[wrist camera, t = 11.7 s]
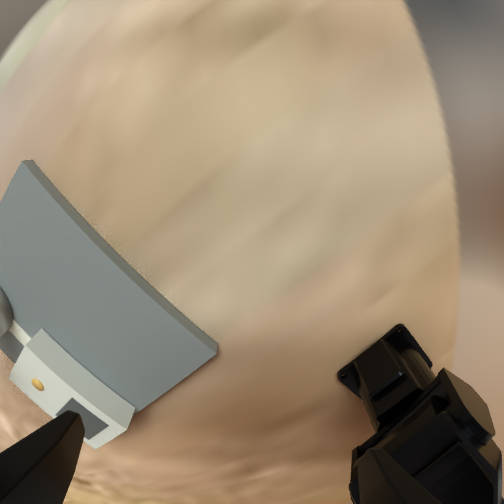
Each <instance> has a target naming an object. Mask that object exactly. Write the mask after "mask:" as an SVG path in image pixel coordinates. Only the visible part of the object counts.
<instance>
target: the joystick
mask: <svg viewBox="0 0 504 504" xmlns="http://www.w3.org/2000/svg"><path fill="white" fill-rule="evenodd" d="M12 322H13V315H12V310H11V306H10V304H9V301H8V299H7V297H6V295H5V294H4V292H3V291H2V289H1V288H0V337H1V336H2V335H3V334H4V333H5V332H6V331H7V330H8V329H10V327H11V326H12Z"/></svg>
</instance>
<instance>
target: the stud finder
mask: <svg viewBox="0 0 504 504" xmlns="http://www.w3.org/2000/svg"><path fill="white" fill-rule="evenodd" d="M8 378H9V379H10V380H11V381H12V382H13V383H14V384H15V385H16V386H17V387H18V388H19V389H20V390H21V391H23V392H24V393H25V394H26V395H27V396H28V397H29V398H30V399H31V400H32V401H34V402H35V403H36V404H37V405H38V406H39V407H40V408H42V409H43V410H44V411H45V412H46V413H48V414H49V415H50V416H51V417H52V418H56V417H57V416H59V415H60V414H62V413H63V412H65V411H67V410H71V411H74V412H77V413H79V414H80V415H81V418H82V421H83V424H84V428H85V436H84V439H83V441H84V442H86V443H87V444H88V445H90V446H91V447H93V448H94V449H97V448H99V447H101V446H102V445H104V444H105V443H107V442H109V441H110V440H112V439H113V438H115V437H117V436H118V435H120V434H121V433H123V432H124V431H126V430H127V429H128V426H129V423H130V421H131V418H132V416H133V413H134V410H135V407H134V406H132V405H131V404H130V403H128V402H127V401H126V400H124V399H123V398H121V397H120V396H119V395H118V394H116V393H115V392H114V391H112V390H111V389H110V388H108V387H107V386H106V385H105V384H103V383H102V382H101V381H100V380H98V379H97V378H96V377H95V376H94V375H92V374H91V373H90V372H89V371H88V370H86V369H85V368H84V367H83V366H82V365H81V364H80V363H78V362H77V361H76V360H75V359H74V358H73V357H72V356H71V355H69V354H68V353H67V352H66V351H65V350H64V349H63V348H62V347H61V346H60V345H59V344H58V343H57V342H55V341H54V340H53V339H52V338H51V337H50V336H49V335H48V334H47V333H46V332H45V331H44V330H43V329H42V328H41V329H40V330H39V331H38V332H37V333H36V334H35V336H34V337H33V338H32V339H31V340H30V341H29V342H28V343H27V344H26V345H25V346H24V348H23V350H22V352H21V354H20V356H19V358H18V359H17V361H16V363H15V365H14V367H13V369H12V371H11V373H10V375H9V377H8Z"/></svg>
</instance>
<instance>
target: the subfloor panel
mask: <svg viewBox="0 0 504 504" xmlns="http://www.w3.org/2000/svg"><path fill="white" fill-rule="evenodd" d="M0 288H1V289H2V291H3V292H4V294H5V295H6V297H7V299H8V301H9V304H10V306H11V310H12V315H13V322H12V326H11V327H10V329H8V330H7V331H6V332H5V333H4V334H3V335H2V336H1V337H0V349H1V350H2V351H3V352H4V353H5V354H6V355H7V356H8V357H9V358H10V359H11V360H12V361H13V362H14V363H16V361H17V359H18V358H19V356H20V354H21V352H22V350H23V348H24V346H25V345H26V344H27V343H28V342H29V341H30V340H31V339H32V338H33V337H34V336H35V334H36V333H37V332H38V331H39V330H40V329H41V328H42V329H43V330H44V331H45V332H46V333H47V334H48V335H49V336H50V337H51V338H52V339H53V340H54V341H55V342H57V343H58V344H59V345H60V346H61V347H62V348H63V349H64V350H65V351H66V352H67V353H68V354H69V355H71V356H72V357H73V358H74V359H75V360H76V361H77V362H78V363H80V364H81V365H82V366H83V367H84V368H85V369H86V370H88V371H89V372H90V373H91V374H92V375H94V376H95V377H96V378H97V379H98V380H100V381H101V382H102V383H103V384H105V385H106V386H107V387H108V388H110V389H111V390H112V391H114V392H115V393H116V394H118V395H119V396H120V397H121V398H123V399H124V400H126V401H127V402H128V403H130V404H131V405H132V406H134V407H135V410H134V413H133V415H135V414H136V413H137V412H139V411H140V410H142V409H143V408H145V407H146V406H147V405H149V404H150V403H152V402H153V401H154V400H156V399H157V398H158V397H160V396H161V395H163V394H164V393H165V392H167V391H168V390H169V389H171V388H172V387H174V386H175V385H176V384H178V383H179V382H180V381H182V380H183V379H184V378H186V377H187V376H188V375H190V374H191V373H192V372H194V371H195V370H196V369H198V368H199V367H200V366H201V365H203V364H204V363H205V362H207V361H208V360H209V359H211V358H212V357H213V356H214V355H216V354H217V348H218V343H216V342H215V341H214V340H213V339H212V338H210V337H209V336H208V335H207V334H206V333H204V332H203V331H202V330H201V329H200V328H198V327H197V326H196V325H195V324H194V323H193V322H191V321H190V320H189V319H188V318H187V317H186V316H185V315H183V314H182V313H181V312H180V311H179V310H178V309H177V308H175V307H174V306H173V305H172V304H171V303H170V302H169V301H168V300H166V299H165V298H164V297H163V296H162V295H161V294H160V293H159V292H158V291H157V290H156V289H154V288H153V287H152V286H151V285H150V284H149V283H148V282H147V281H146V280H145V279H144V278H143V277H142V276H141V275H139V274H138V273H137V272H136V271H135V270H134V269H133V268H132V267H131V266H130V265H129V264H128V263H127V262H126V261H125V260H124V259H123V258H122V257H121V256H120V255H119V254H118V253H117V252H116V251H115V250H114V249H113V248H112V247H111V246H110V245H109V244H108V243H107V242H106V241H105V240H104V239H103V238H102V237H101V236H100V235H99V234H98V233H97V232H96V231H95V230H94V229H93V228H92V227H91V226H90V225H89V224H88V222H87V221H86V220H85V219H84V218H83V217H82V216H81V215H80V214H79V213H78V212H77V211H76V210H75V209H74V207H73V206H72V205H71V204H70V203H69V202H68V201H67V200H66V199H65V197H64V196H63V195H62V194H61V193H60V192H59V191H58V190H57V188H56V187H55V186H54V185H53V184H52V183H51V182H50V180H49V179H48V178H47V177H46V176H45V175H44V173H43V172H42V171H41V170H40V169H39V167H38V166H37V165H36V164H35V163H34V161H33V160H25V161H22V162H21V164H20V166H19V167H18V169H17V171H16V173H15V175H14V177H13V178H12V180H11V182H10V184H9V186H8V188H7V190H6V192H5V194H4V196H3V198H2V200H1V202H0Z"/></svg>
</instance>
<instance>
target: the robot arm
mask: <svg viewBox="0 0 504 504" xmlns="http://www.w3.org/2000/svg"><path fill="white" fill-rule="evenodd" d="M401 329H402V330H401ZM399 330H401V331H400V332H398V331H399ZM432 365H433V364H432V362H431V361H430V359H429V358H428V357H427V355H426V354H425V352H424V351H423V350H422V348H421V347H420V346H419V344H418V343H417V341H416V340H415V339H414V337H413V336H412V335H411V333H410V332H409V331H408V329H407V328H406V327H405V326H404V325H403V324H398V325H396V326H395V327H394V328H393V329H392V330H390V331H389V332H388V333H387V334H386V335H384V336H383V337H382V338H381V339H380V340H378V341H377V342H376V343H375V344H373V345H372V346H371V347H370V348H368V349H367V350H366V351H365V352H363V353H362V354H361V355H359V356H358V357H357V358H356V359H354V360H353V361H352V362H350V363H349V364H348V365H346V366H345V367H344V368H342V369H341V370H340V371H339V372H338V373H337V377H338V379H339V381H341V382H342V383H343V384H344V385H345V386H346V387H348V388H349V389H350V390H351V391H352V392H353V393H355V394H356V395H357V396H358V397H359V398H361V399H362V400H363V403H364V405H365V408H366V410H367V413H368V415H369V418H370V421H371V423H372V426H373V428H374V431H375V433H376V434H374V435H373V436H372V437H371V438H369V439H368V440H367V441H366V442H364V443H363V444H362V445H360V446H357V447H356V448H355V449H353V450H352V465H351V480H350V483H349V491H350V496H351V500H352V502H353V504H504V499H503V498H502V454H501V451H500V449H499V448H498V446H497V445H496V444H495V442H494V441H493V440H492V437H493V436H494V435H495V429H494V426H493V422H492V419H491V416H490V413H489V409H488V406H487V404H486V403H485V402H484V401H483V399H482V398H481V397H480V396H479V395H478V394H477V392H476V391H475V390H474V389H473V388H472V387H471V386H470V385H469V384H467V383H466V382H464V381H463V380H461V379H460V378H458V377H457V376H455V375H454V374H452V373H451V372H450V371H448V370H447V369H445V368H443V369H442V370H441V371H440V372H439V373H438V376H437V377H436V376H435V375H434V373H433V372H432V371H431V367H432ZM344 374H346V375H344ZM342 375H344V376H342ZM84 436H85V428H84V424H83V421H82V418H81V415H80V414H79V413H77V412H74V411H71V410H67V411H65V412H63V413H62V414H60V415H59V416H57V417H56V418H54V419H53V420H51V421H50V422H48V423H47V424H45V425H43V426H42V427H40V428H39V429H37V430H36V431H34V432H33V433H31V434H30V435H28V436H26V437H25V438H23V439H22V440H20V441H19V442H17V443H15V444H14V445H12V446H11V447H9V448H7V449H6V450H4V451H3V452H1V453H0V504H63V501H64V498H65V496H66V493H67V491H68V488H69V485H70V483H71V480H72V478H73V475H74V472H75V469H76V465H77V461H78V458H79V454H80V450H81V447H82V443H83V439H84Z"/></svg>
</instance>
